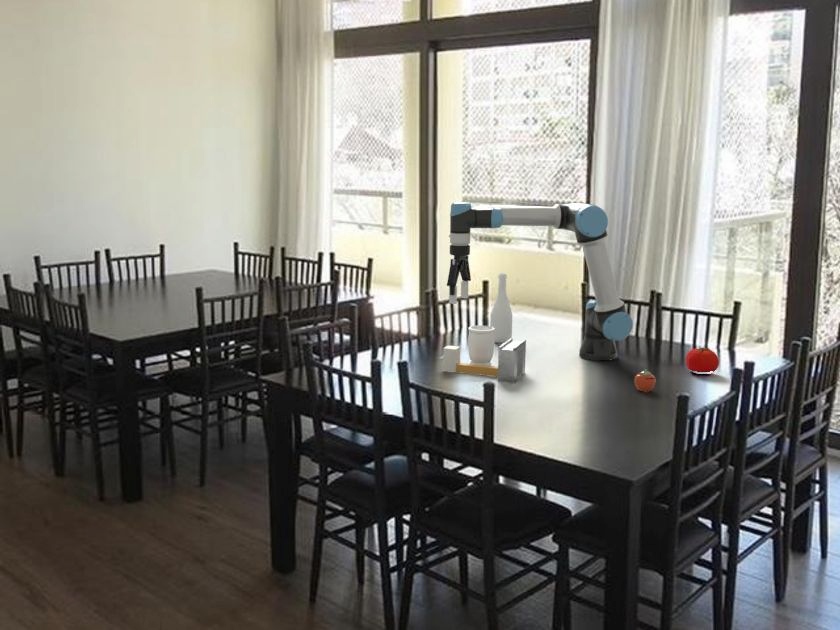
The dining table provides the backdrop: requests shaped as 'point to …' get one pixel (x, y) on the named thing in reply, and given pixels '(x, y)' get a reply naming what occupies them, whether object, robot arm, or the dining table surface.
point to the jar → (481, 344)
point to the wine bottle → (501, 313)
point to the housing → (511, 360)
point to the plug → (453, 363)
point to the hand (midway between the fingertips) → (458, 300)
